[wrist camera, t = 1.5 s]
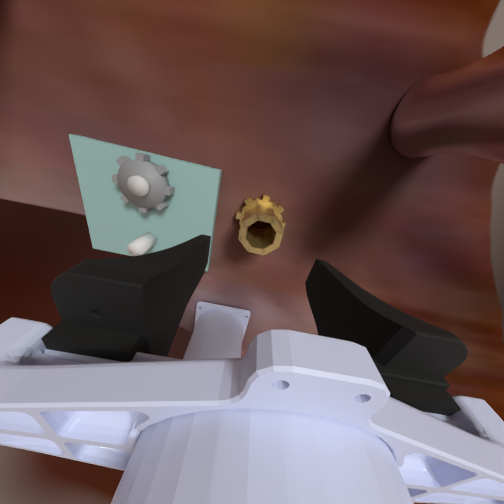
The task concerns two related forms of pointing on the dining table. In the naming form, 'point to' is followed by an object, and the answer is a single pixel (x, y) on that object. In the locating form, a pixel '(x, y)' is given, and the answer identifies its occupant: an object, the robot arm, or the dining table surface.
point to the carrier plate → (143, 197)
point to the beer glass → (454, 113)
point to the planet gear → (258, 238)
